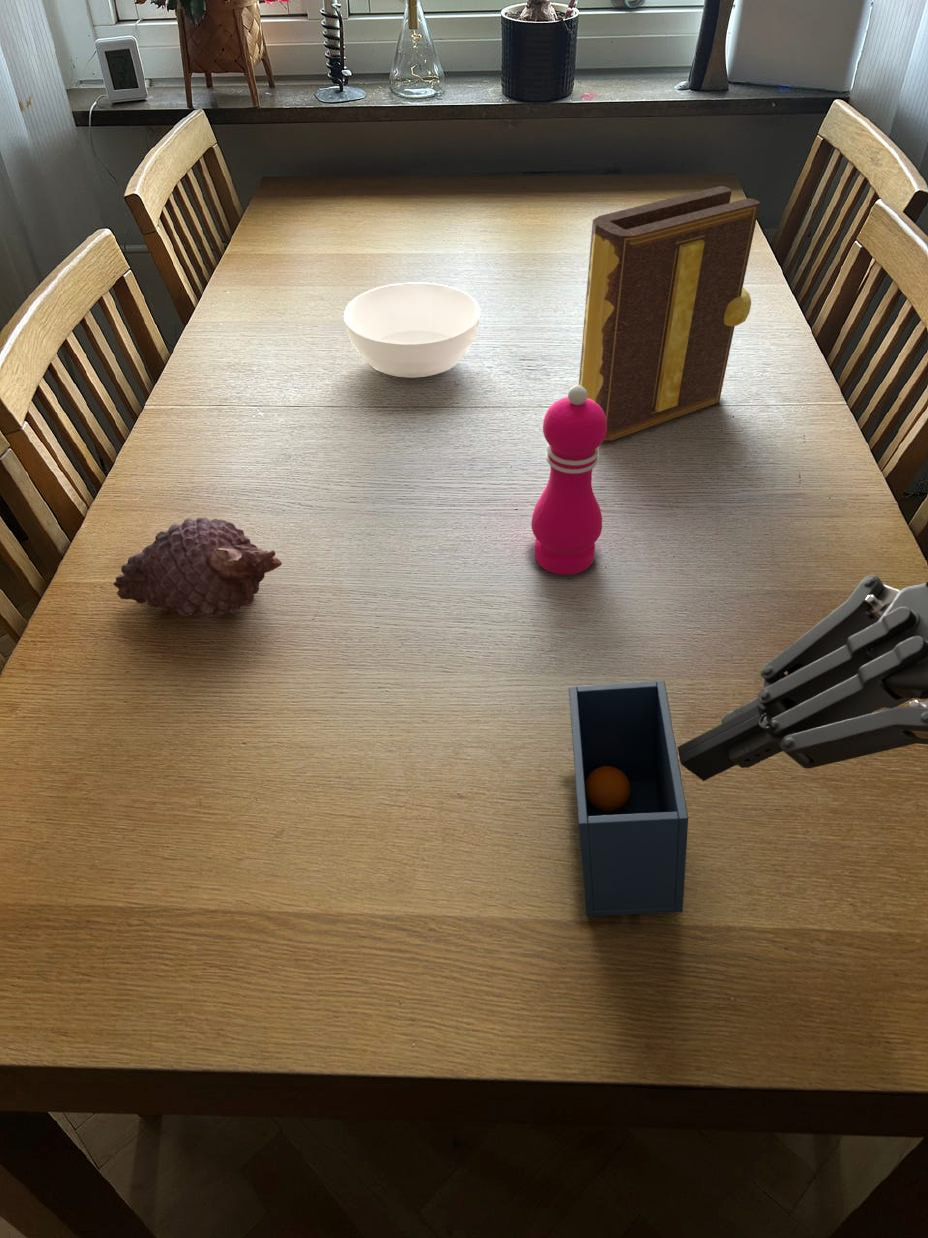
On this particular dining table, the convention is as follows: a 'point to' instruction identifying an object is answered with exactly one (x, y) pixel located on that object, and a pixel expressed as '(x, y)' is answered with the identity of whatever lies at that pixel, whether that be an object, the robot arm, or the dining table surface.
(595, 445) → the pepper mill
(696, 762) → the robot arm
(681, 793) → the gray box
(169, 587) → the pine cone
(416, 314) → the bowl
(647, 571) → the dining table surface
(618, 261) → the book
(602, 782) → the orange ball
